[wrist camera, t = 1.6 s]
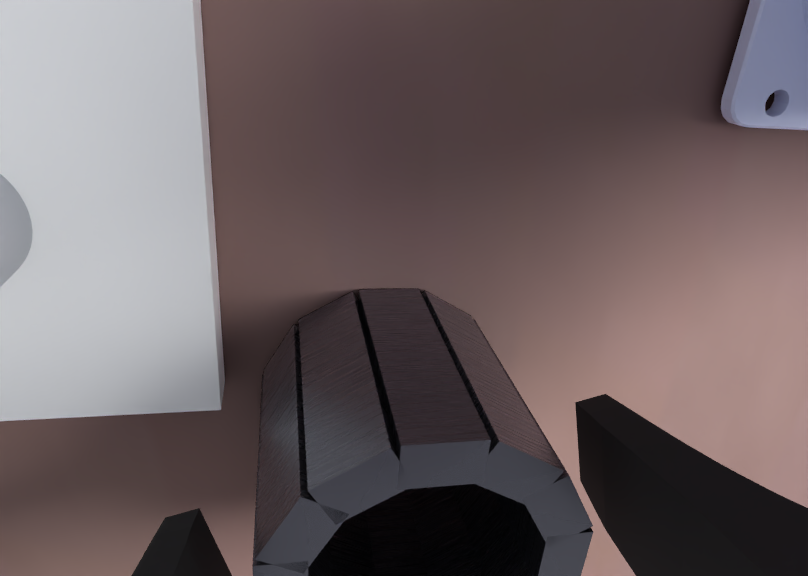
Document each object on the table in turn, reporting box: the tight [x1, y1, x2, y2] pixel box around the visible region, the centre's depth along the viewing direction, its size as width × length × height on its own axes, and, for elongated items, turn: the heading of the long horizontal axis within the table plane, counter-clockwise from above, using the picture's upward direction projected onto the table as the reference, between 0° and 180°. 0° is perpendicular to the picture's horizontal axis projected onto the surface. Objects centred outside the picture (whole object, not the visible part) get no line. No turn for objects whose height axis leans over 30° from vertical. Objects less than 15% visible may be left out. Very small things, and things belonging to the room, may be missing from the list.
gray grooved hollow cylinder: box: [253, 289, 593, 576], centre depth 12 cm, size 5×5×5 cm
